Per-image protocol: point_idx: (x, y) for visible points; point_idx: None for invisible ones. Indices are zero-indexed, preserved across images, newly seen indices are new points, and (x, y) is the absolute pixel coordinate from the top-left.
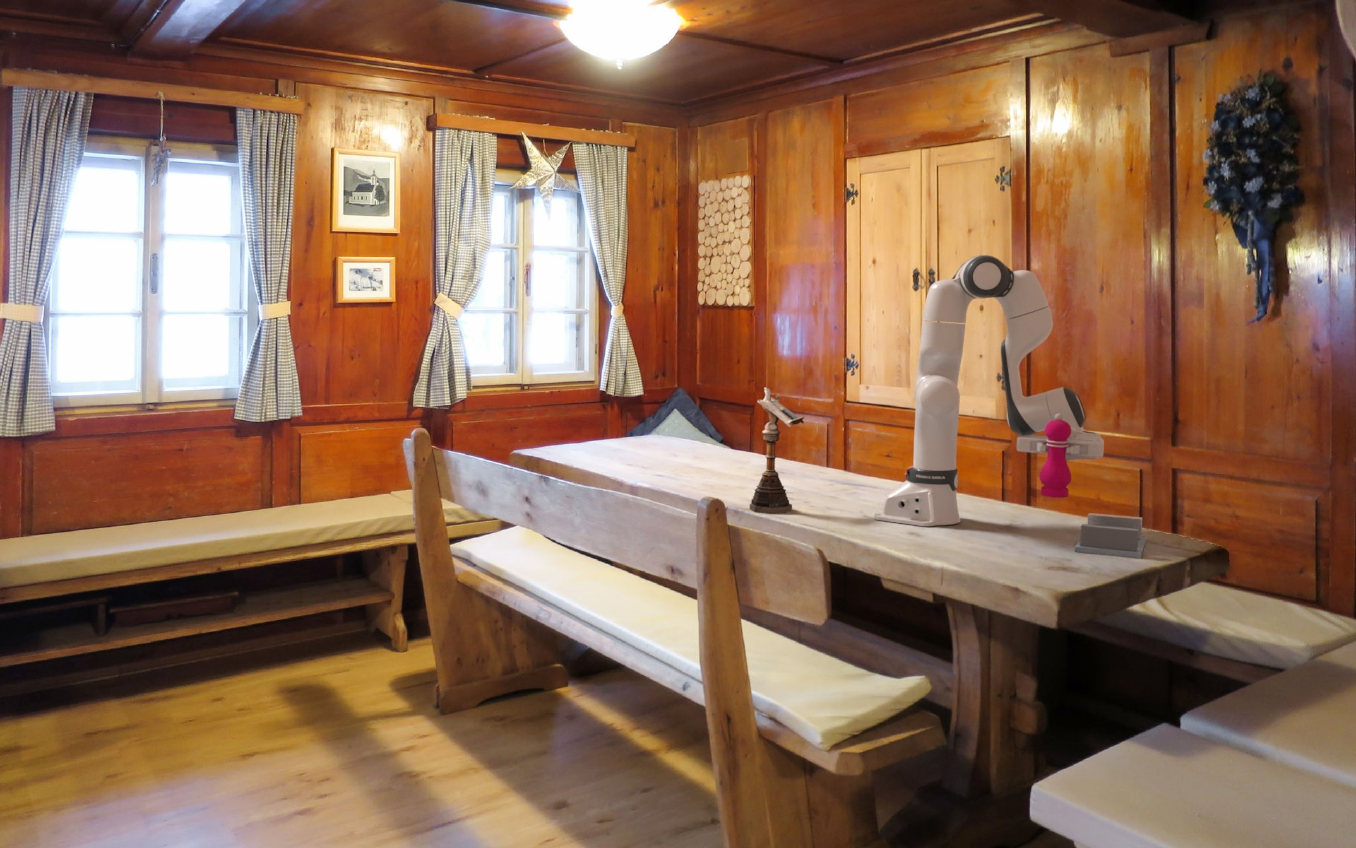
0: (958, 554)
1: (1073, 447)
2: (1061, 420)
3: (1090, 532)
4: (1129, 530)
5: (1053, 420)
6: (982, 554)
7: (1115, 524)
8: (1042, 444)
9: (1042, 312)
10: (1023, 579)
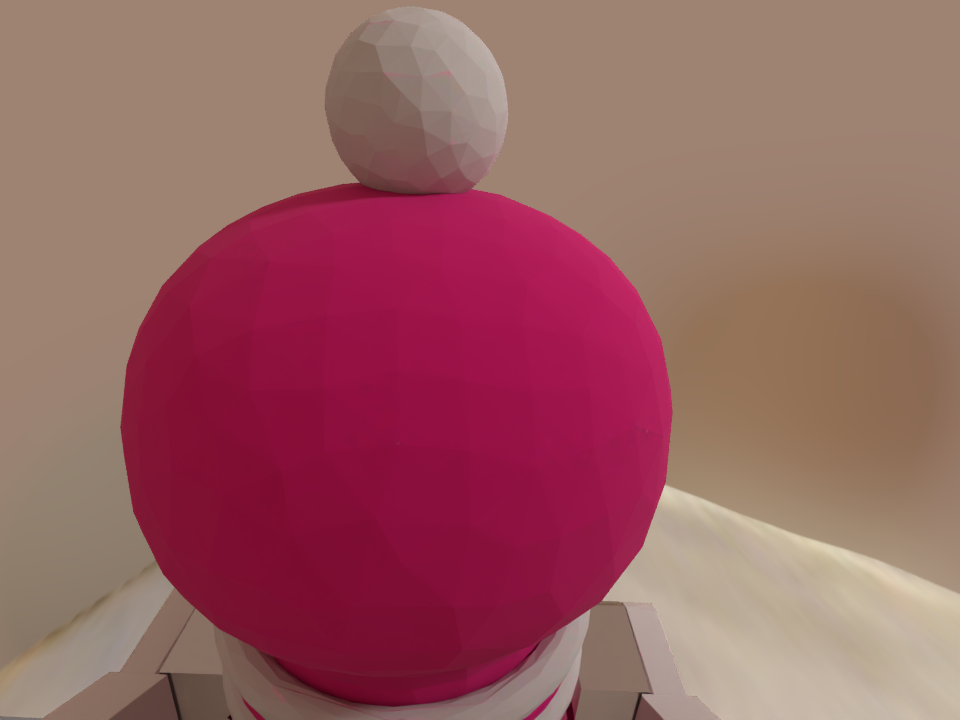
0: (673, 576)
1: (152, 631)
2: (354, 183)
3: None
4: (4, 717)
5: (520, 203)
6: (616, 600)
7: None
8: (643, 655)
9: None
10: None
